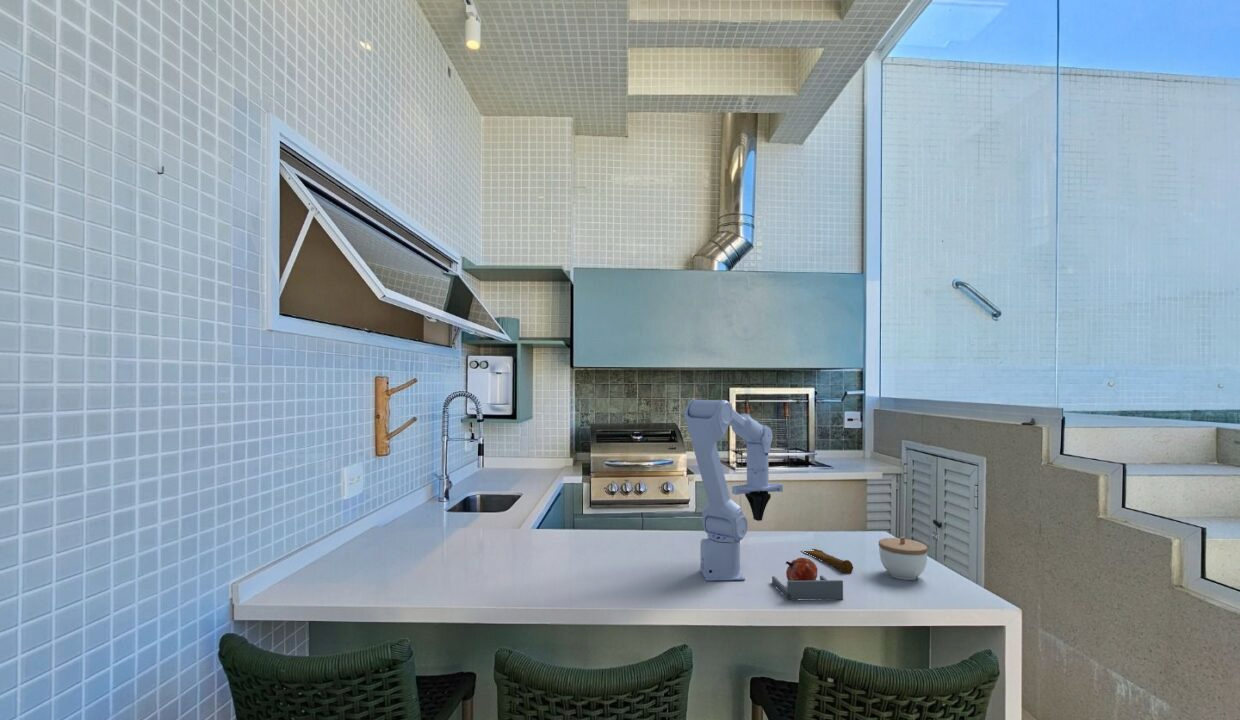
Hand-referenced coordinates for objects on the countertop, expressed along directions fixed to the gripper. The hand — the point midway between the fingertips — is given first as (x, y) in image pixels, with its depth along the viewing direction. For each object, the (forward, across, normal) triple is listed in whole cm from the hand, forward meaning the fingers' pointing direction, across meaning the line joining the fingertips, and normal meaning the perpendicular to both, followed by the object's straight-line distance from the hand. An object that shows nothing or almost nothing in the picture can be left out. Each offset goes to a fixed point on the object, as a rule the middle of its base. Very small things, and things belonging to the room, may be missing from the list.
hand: (757, 519), depth 148 cm
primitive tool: (+11, +16, -7) cm, 21 cm away
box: (+10, -2, -23) cm, 25 cm away
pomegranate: (+11, -2, -22) cm, 25 cm away
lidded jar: (+11, +27, -22) cm, 37 cm away
